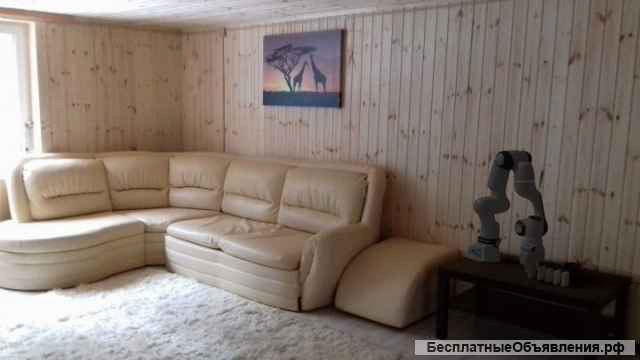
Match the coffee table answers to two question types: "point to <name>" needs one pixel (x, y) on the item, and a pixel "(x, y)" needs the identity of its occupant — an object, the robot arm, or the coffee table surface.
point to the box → (572, 269)
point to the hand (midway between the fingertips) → (531, 270)
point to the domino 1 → (532, 270)
